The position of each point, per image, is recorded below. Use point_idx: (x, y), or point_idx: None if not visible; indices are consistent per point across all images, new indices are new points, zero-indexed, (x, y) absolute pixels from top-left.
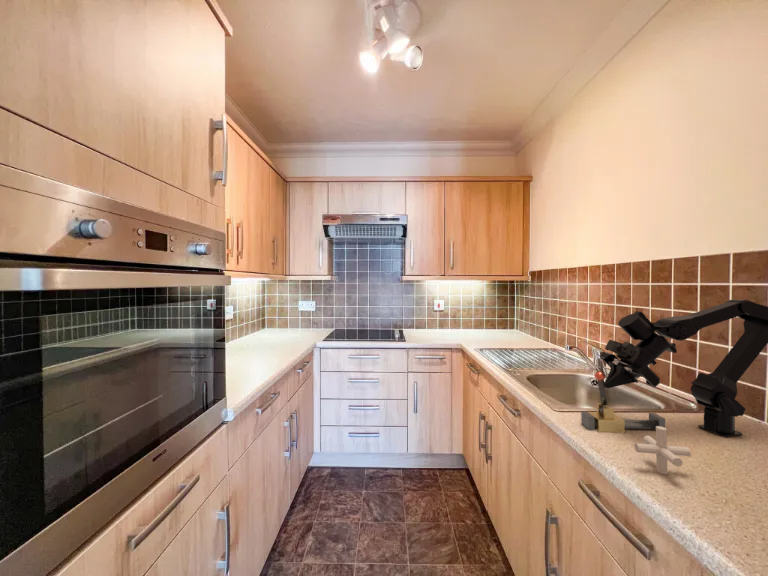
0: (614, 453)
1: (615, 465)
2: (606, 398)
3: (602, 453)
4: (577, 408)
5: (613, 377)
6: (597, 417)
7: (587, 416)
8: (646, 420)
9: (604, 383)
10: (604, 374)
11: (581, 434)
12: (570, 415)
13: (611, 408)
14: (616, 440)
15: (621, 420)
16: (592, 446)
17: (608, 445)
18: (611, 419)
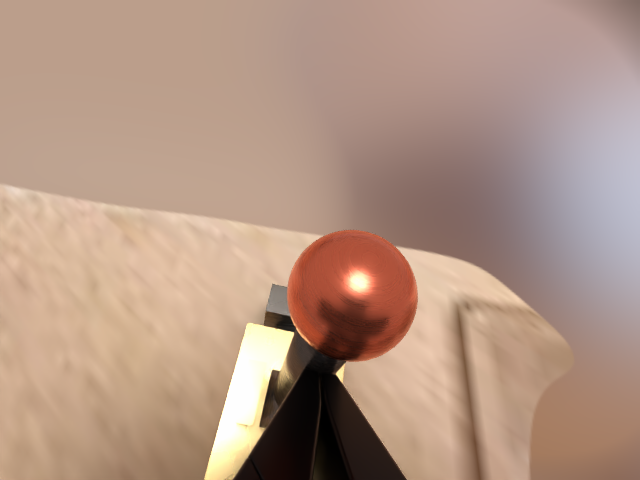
0: (79, 259)
1: (21, 203)
2: (280, 389)
3: (99, 222)
4: (508, 436)
5: (257, 464)
6: (274, 340)
7: (281, 287)
8: None
9: (334, 384)
10: (318, 319)
11: (242, 254)
12: (416, 336)
13: (242, 406)
14: (158, 353)
15: (210, 458)
16: (152, 226)
17: (136, 285)
18: (234, 399)
